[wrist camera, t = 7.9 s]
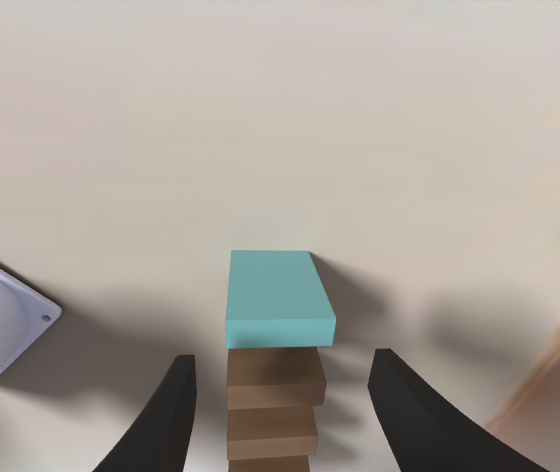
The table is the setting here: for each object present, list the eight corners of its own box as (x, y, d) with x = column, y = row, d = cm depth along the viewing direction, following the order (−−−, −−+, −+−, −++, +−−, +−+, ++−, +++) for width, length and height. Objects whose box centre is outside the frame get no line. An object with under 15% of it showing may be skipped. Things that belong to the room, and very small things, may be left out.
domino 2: (296, 362, 25) (315, 454, 18) (231, 364, 24) (227, 460, 18) (298, 345, 24) (318, 435, 18) (231, 347, 24) (227, 441, 17)
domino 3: (293, 399, 26) (308, 495, 20) (231, 402, 26) (228, 502, 19) (294, 384, 26) (311, 479, 19) (231, 387, 25) (227, 486, 19)
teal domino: (306, 272, 22) (332, 345, 15) (231, 272, 21) (225, 348, 15) (308, 250, 21) (336, 318, 15) (231, 250, 20) (225, 320, 14)
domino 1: (301, 320, 23) (322, 404, 17) (231, 321, 23) (226, 409, 16) (303, 301, 23) (326, 382, 16) (231, 302, 22) (226, 386, 16)
